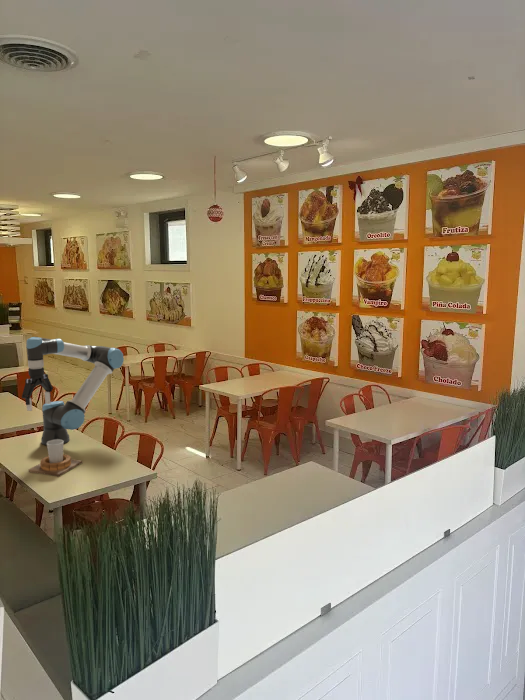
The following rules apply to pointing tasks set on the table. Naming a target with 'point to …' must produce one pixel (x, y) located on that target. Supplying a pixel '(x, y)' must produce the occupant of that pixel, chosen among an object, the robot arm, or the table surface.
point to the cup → (55, 450)
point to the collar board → (57, 472)
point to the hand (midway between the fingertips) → (38, 407)
